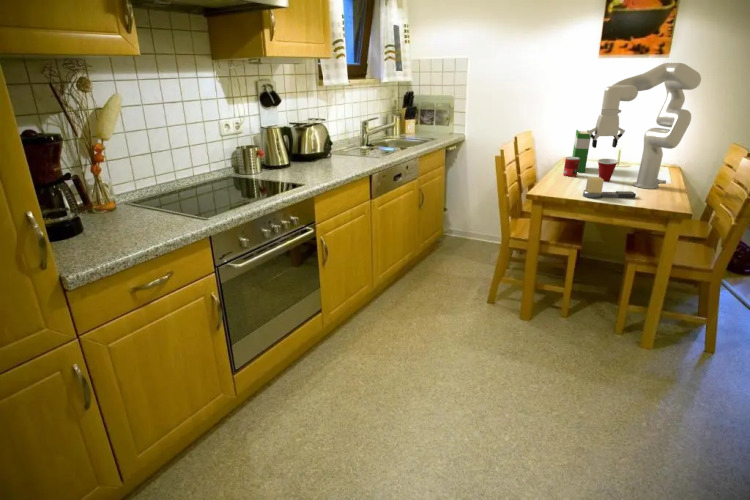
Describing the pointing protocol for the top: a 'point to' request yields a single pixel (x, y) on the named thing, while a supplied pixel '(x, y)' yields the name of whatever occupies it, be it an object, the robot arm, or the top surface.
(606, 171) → the plastic cup
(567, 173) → the canned food
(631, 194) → the ratchet
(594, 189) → the tan wooden block
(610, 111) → the robot arm
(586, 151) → the hardback book
